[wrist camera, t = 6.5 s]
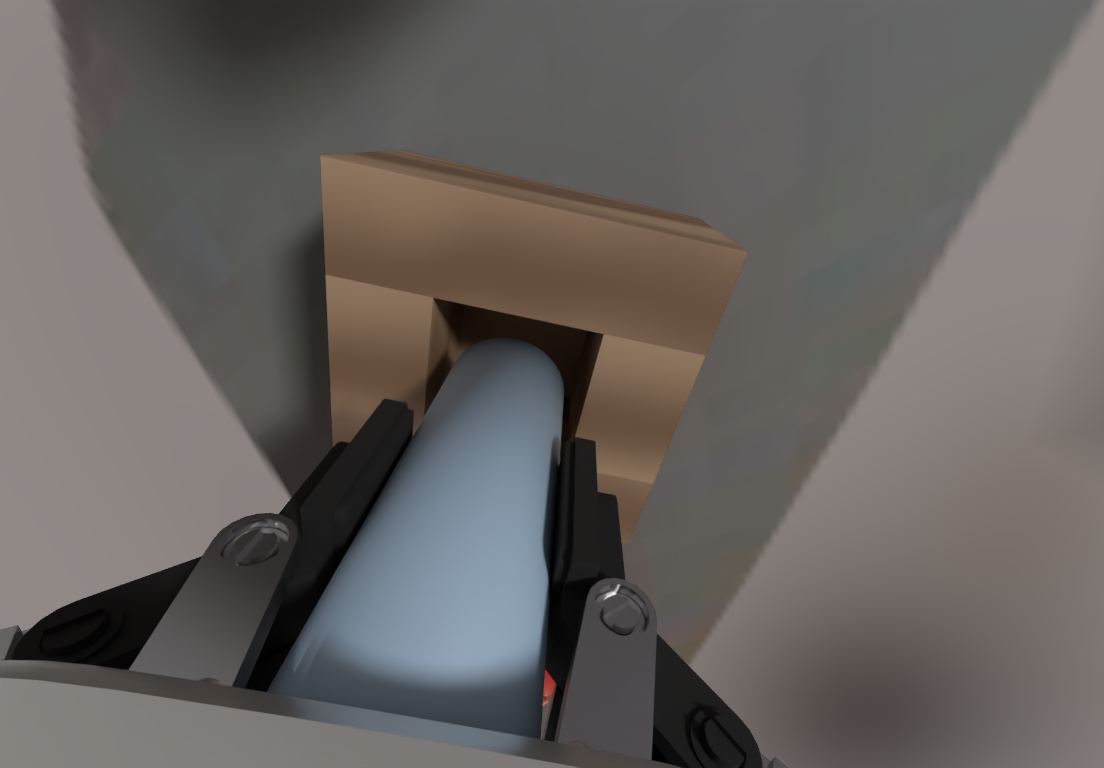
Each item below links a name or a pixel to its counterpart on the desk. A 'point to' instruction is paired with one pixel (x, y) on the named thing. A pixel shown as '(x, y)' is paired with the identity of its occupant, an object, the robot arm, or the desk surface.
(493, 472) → the pin
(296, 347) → the desk surface
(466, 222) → the bore block
